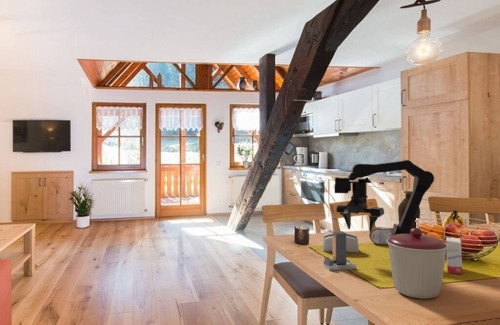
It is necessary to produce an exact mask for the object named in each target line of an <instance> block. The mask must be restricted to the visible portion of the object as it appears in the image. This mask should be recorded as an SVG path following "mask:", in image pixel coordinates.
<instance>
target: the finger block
mask: <svg viewBox="0 0 500 325" xmlns="http://www.w3.org/2000/svg"><path fill="white" fill-rule="evenodd" d="M332 233H333V235H332V238H333V252H332V260H333V264H334V265H346V260H347V252H346V233H347V232H345V231H342V230H339V231H337V230H335V231H332Z"/></svg>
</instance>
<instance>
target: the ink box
mask: <svg viewBox="0 0 500 325" xmlns="http://www.w3.org/2000/svg"><path fill="white" fill-rule="evenodd" d="M461 240H462V239H461V238H459V237H458V238H457V237H446V242H445V243H447V244H448V246H449V247H448V249H446V269H447V273H448V274H456V275H457V274H458V275H463V259H462V258H463V257H462V254H463V252H462V241H461Z"/></svg>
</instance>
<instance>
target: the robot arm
mask: <svg viewBox="0 0 500 325" xmlns="http://www.w3.org/2000/svg"><path fill="white" fill-rule="evenodd" d="M396 171H405V172H407V173H408V174H409V175H411V177H413V183H412V190H411V191H412V194H411V196H410V199H409V201H408V204H407V206H406V209H405V211H404V214H403V216H402V219H401V221H400V223H399V222H398V224H396V223H394V224H393V226H392V228H393V229H392V231H391V233H392V235H391V236H393V235H397V234H410V230H411V225H412V223H413V220H414V218H415V215H416V213H417V210H418V208H420V205H421V203H422V200H423V197H424V195H425V194H426V192H427V191H428V190H429V189H430V188H431V187H432V185H433V183H434V181H435V175H434V174H433V173H432V172H430V171H428V170H424V169H422V168H421V167H420V166H418V165H416V164H415V163H413V162H412V161H411V160H409V159H408V160H407V159H404V160H398V161H389V162H383V163H356V164H354V165H353V166H352V168H351V173H350V174H349V175H348V176H347V177H337V176H336V177H334V194H349V192H351V191H352V192H351V193H352V194H351V196H350V200H349V202H348V203H347V204H342V203H341V204H338V205H337V206H336V213H338V214H339V215H341V217H343V219H344V221H345V223H346V226H347V229H348V230H351V225H352V222H351V220H352V218H351V217H352V215H351V214H355V215H357V214H360V213H365V214H369V227H368V228H369V233H370V232H372V229H373V228H375V227H374V226H375V224H376V221H377V220H378V218H380V217H382V216H383V215H385V209H384V208H383V207H378V206H374V207H370V208H368V206H369V205H368V203H367V202H368V201H367V200H368V197H369V196H368V194H367V192H368V191H367V190H368V189H367V186H368V185H367V184H372V181H371V180H370V178H369V176H371V175H374V174H375V175H376V174H380V173H381V174H382V173H388V172H389V173H390V172H396ZM356 179H357V180H356Z"/></svg>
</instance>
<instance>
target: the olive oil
mask: <svg viewBox="0 0 500 325" xmlns="http://www.w3.org/2000/svg"><path fill="white" fill-rule="evenodd" d="M412 191H413V190H405V198H404V199H403V200H402V201H401V202H400V203H399V204H398V207H397V214H398V224H399V223H400V221H401V219H402V216H403V214H404V211H405V209H406V206H407V204H408V201H409V199H410V196H411V194H412ZM420 216H421V209H420V207H419V208H418V210H417V213H416V215H415V218H414V220H413V223H412V225H411V229H412V228H416V222H415V220H416V218H419V219H420V218H421V217H420Z"/></svg>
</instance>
